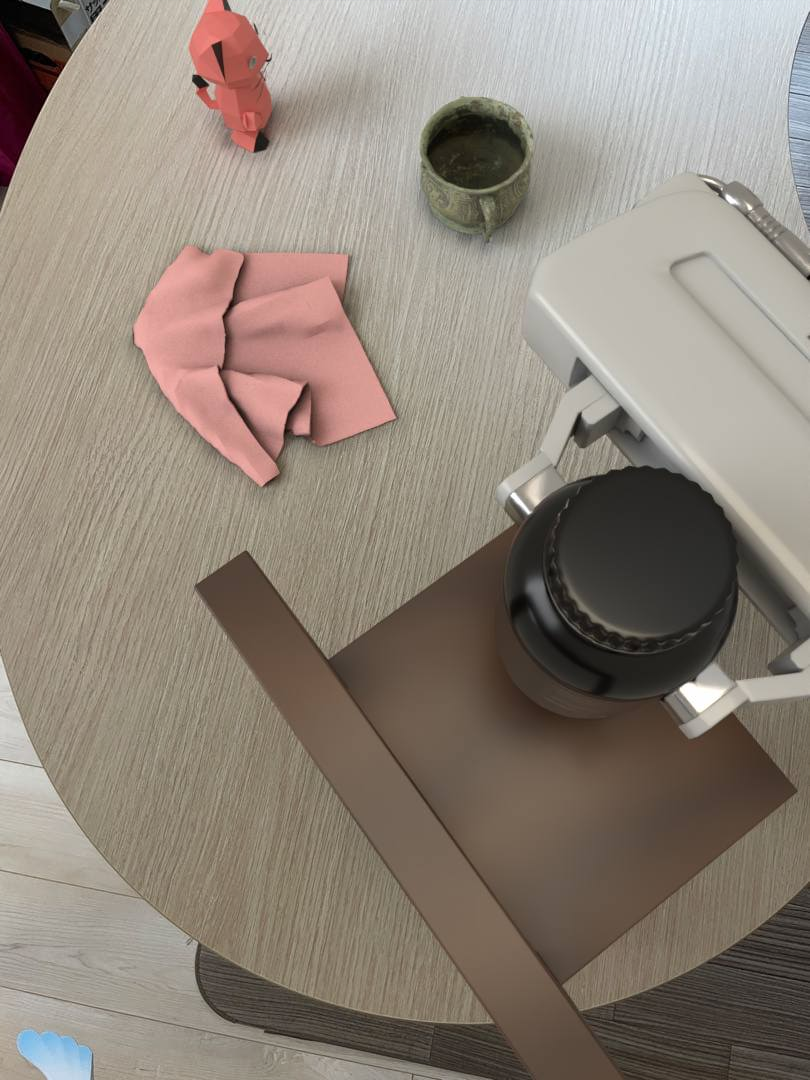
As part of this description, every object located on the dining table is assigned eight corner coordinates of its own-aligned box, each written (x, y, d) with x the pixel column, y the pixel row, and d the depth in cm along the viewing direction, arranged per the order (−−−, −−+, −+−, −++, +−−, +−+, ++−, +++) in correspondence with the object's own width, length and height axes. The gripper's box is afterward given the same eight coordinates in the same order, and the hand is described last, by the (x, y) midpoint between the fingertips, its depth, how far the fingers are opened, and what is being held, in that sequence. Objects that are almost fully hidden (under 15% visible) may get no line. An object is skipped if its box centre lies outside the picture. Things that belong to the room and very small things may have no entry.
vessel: (407, 143, 79) (404, 88, 73) (511, 125, 79) (517, 68, 73) (434, 268, 75) (434, 220, 69) (543, 248, 75) (552, 199, 69)
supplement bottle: (484, 550, 37) (500, 431, 25) (661, 537, 36) (760, 412, 25) (500, 730, 35) (526, 691, 23) (687, 718, 34) (807, 672, 23)
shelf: (657, 798, 64) (1091, 775, 21) (493, 930, 62) (611, 1192, 19) (510, 611, 67) (630, 279, 25) (351, 730, 66) (192, 586, 23)
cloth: (162, 230, 77) (153, 212, 75) (426, 266, 75) (425, 249, 73) (96, 461, 72) (85, 449, 69) (379, 506, 70) (377, 496, 68)
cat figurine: (285, 162, 79) (258, 51, 67) (203, 162, 79) (162, 51, 67) (290, 91, 80) (265, -29, 69) (210, 92, 81) (172, -28, 69)
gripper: (735, 87, 30) (388, 321, 29) (1247, 582, 25) (865, 903, 24) (687, 207, 37) (398, 406, 35) (1093, 626, 31) (780, 884, 30)
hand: (590, 612), depth 29 cm, fingers closed on supplement bottle, 7 cm apart
